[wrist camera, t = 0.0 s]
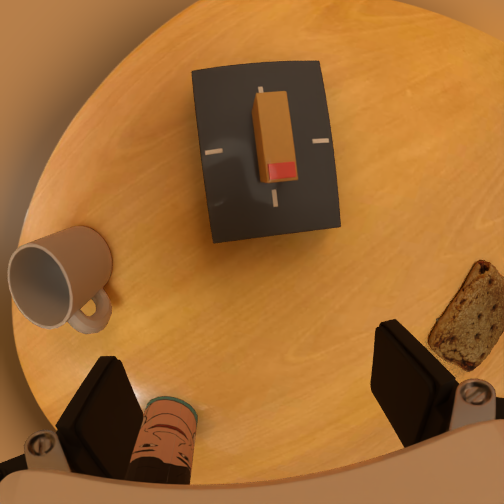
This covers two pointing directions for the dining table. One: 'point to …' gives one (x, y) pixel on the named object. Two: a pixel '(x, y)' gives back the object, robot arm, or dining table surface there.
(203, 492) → the robot arm
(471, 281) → the pastry
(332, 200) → the plate
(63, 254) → the cup
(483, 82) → the dining table surface
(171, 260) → the dining table surface
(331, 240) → the dining table surface
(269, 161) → the red-cornered brown block
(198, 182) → the dining table surface
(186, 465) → the printed cylinder
